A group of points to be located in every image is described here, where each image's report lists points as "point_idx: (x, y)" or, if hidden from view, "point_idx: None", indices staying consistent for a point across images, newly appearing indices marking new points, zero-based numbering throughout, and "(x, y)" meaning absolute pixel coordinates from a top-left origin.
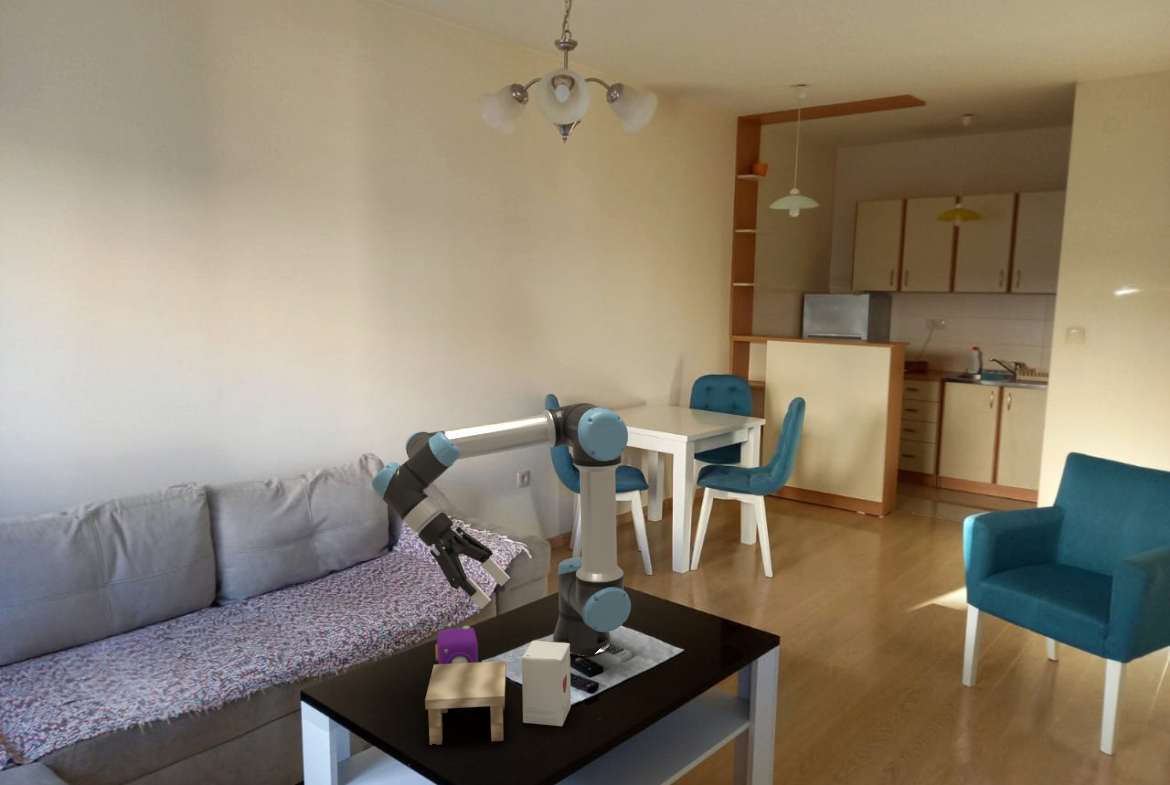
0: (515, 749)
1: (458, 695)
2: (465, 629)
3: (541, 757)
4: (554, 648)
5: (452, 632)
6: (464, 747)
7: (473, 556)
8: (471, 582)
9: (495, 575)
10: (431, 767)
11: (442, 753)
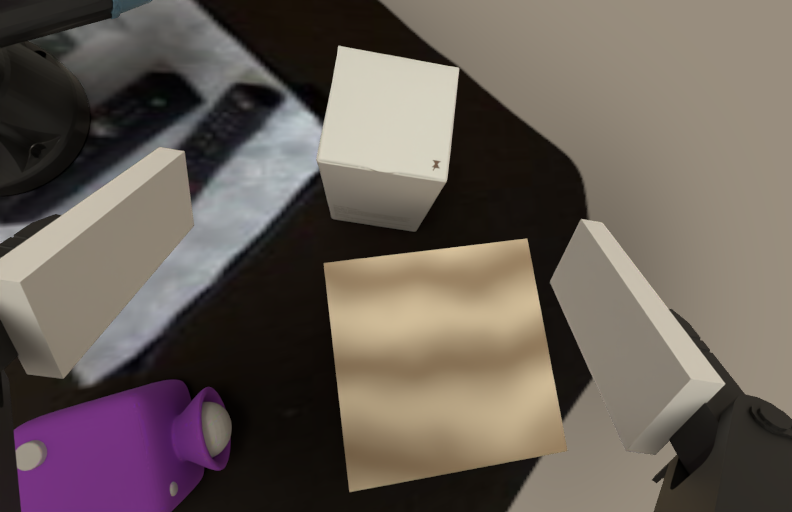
0: (510, 235)
1: (535, 361)
2: (44, 454)
3: (531, 185)
4: (383, 86)
5: (63, 501)
6: None
7: (7, 503)
8: (692, 350)
9: (150, 249)
10: (583, 388)
11: None
